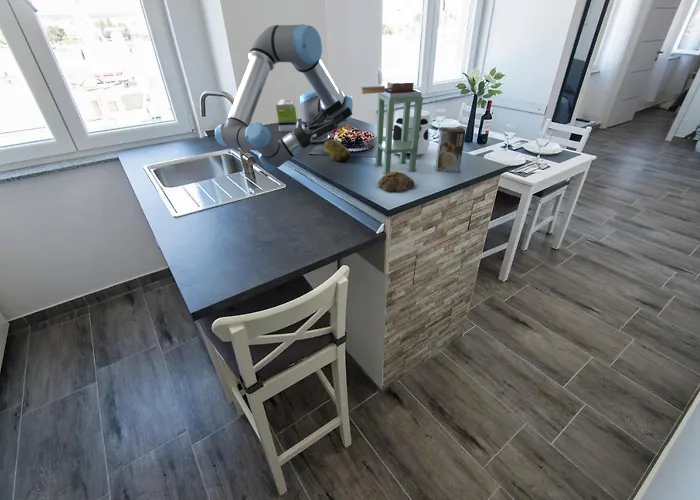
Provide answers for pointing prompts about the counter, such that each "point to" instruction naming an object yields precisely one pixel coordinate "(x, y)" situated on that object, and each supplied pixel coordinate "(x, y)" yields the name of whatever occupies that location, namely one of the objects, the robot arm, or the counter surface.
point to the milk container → (423, 133)
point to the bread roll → (396, 182)
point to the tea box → (287, 115)
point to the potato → (336, 150)
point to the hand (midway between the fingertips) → (345, 106)
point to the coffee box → (450, 149)
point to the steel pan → (402, 94)
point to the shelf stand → (403, 144)
